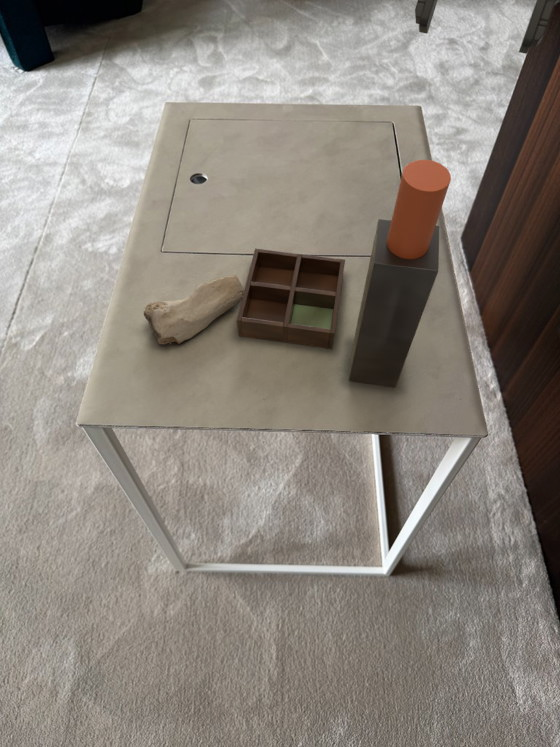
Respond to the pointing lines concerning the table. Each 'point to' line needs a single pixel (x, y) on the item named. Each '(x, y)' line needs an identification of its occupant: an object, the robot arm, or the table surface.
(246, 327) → the grid
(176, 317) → the bone fragment
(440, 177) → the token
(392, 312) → the stand
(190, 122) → the table surface
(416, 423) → the table surface
